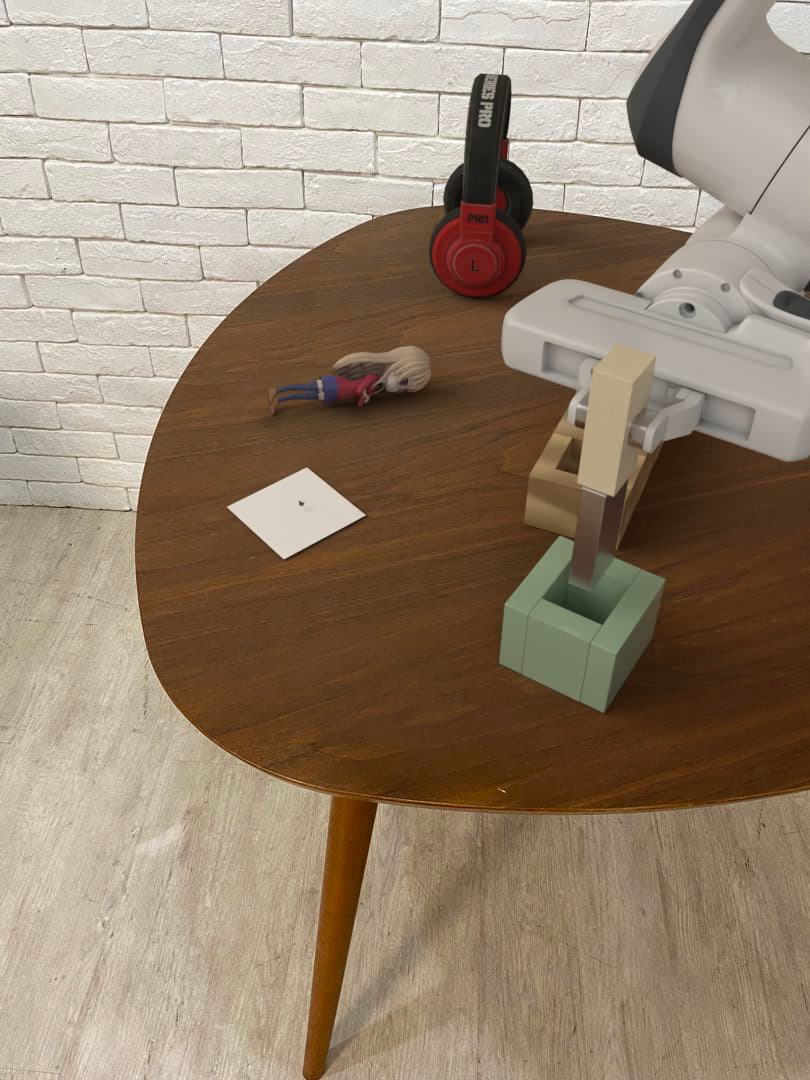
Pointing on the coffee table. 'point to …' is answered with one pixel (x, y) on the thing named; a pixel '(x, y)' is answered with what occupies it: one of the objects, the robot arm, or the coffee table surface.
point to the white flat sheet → (295, 512)
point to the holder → (580, 626)
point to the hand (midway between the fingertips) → (609, 429)
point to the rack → (573, 483)
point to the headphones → (483, 202)
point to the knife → (608, 458)
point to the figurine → (364, 377)
